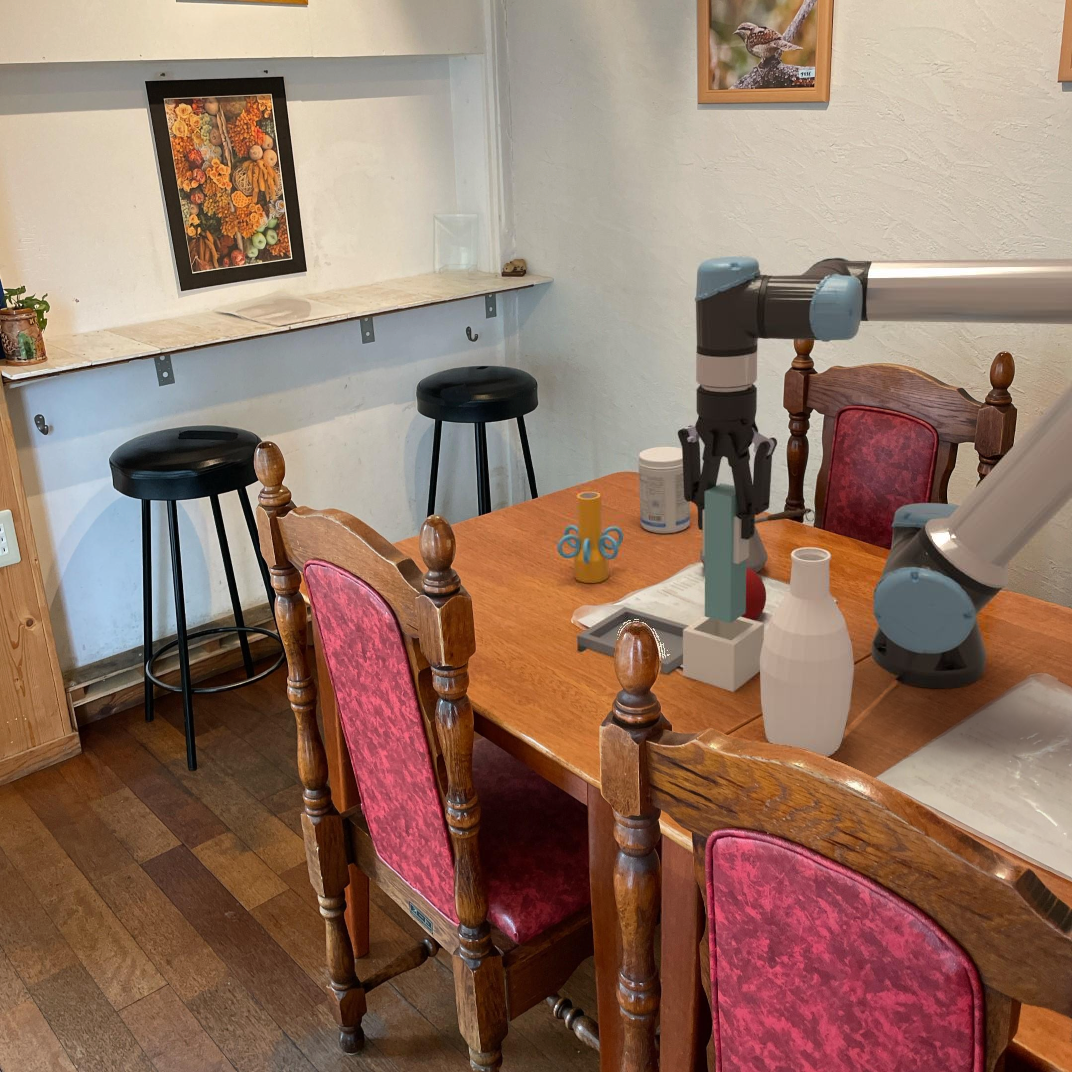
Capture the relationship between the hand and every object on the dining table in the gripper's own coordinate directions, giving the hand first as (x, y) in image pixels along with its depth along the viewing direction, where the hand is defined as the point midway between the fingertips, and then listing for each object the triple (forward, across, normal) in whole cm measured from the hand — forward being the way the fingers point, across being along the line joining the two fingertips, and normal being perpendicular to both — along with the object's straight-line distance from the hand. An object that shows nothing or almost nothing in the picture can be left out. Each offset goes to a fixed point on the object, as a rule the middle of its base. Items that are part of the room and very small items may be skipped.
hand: (725, 556), depth 142 cm
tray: (+18, +14, -1) cm, 23 cm away
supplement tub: (+19, +41, -45) cm, 64 cm away
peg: (+9, 0, 0) cm, 9 cm away
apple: (+19, +8, -17) cm, 27 cm away
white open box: (+19, 0, 0) cm, 19 cm away
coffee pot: (+19, +14, -33) cm, 40 cm away
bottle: (+19, -16, +8) cm, 26 cm away
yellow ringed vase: (+19, +37, -18) cm, 45 cm away
